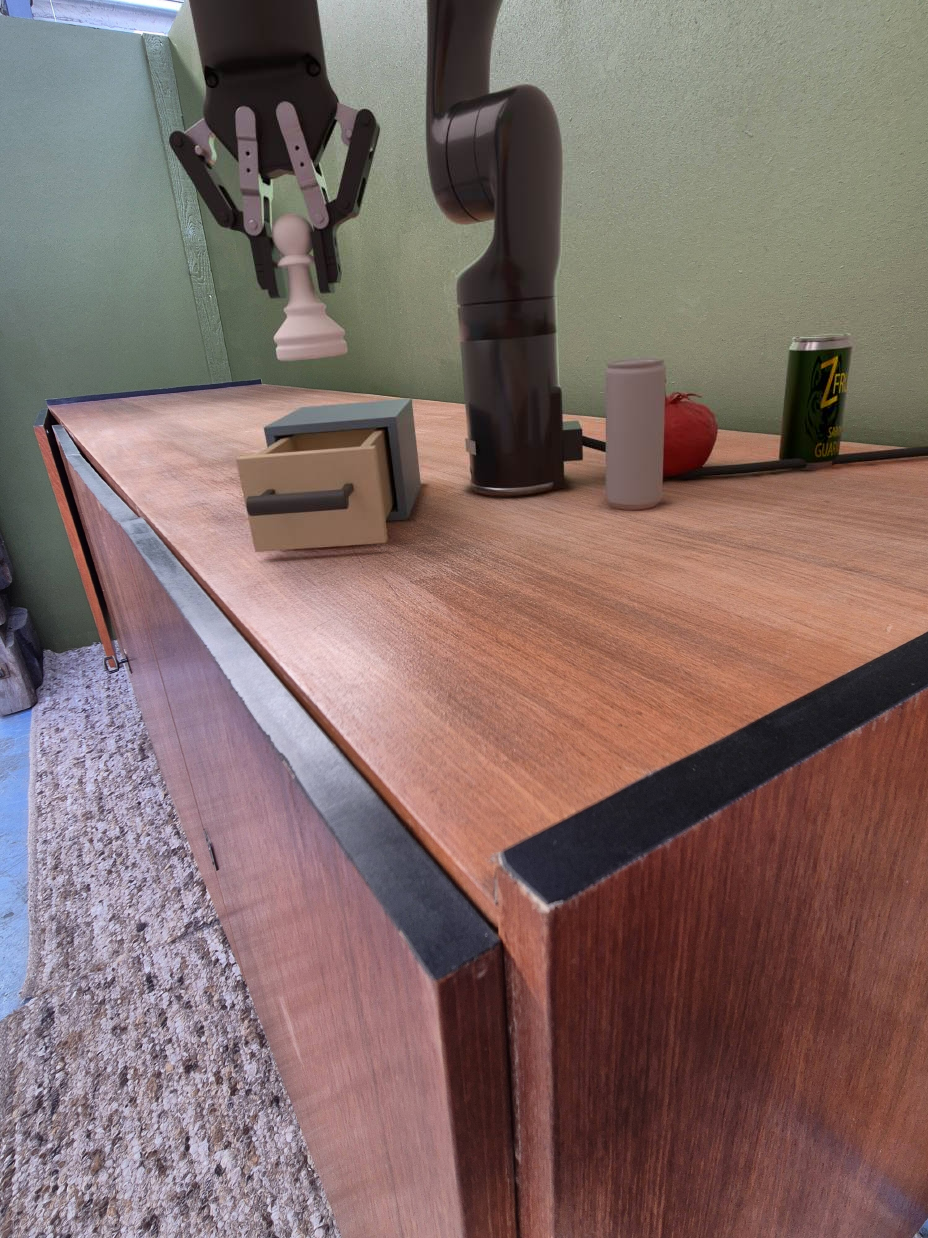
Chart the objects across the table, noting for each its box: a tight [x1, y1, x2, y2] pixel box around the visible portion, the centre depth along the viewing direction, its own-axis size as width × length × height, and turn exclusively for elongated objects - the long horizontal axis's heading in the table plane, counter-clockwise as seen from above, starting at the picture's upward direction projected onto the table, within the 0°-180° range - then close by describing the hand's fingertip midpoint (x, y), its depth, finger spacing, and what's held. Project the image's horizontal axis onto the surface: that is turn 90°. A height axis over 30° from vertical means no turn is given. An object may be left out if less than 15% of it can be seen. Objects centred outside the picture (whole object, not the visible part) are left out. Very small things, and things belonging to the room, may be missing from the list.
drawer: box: [235, 427, 396, 553], centre depth 58 cm, size 17×10×7 cm, turn 178°
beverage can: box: [604, 357, 667, 511], centre depth 61 cm, size 5×5×12 cm
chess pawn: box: [272, 212, 349, 362], centre depth 49 cm, size 5×5×9 cm
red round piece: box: [663, 378, 719, 478], centre depth 71 cm, size 10×10×9 cm
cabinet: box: [263, 397, 422, 522], centre depth 69 cm, size 14×12×9 cm
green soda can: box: [778, 332, 853, 471], centre depth 69 cm, size 5×5×12 cm
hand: (302, 294), depth 49 cm, fingers closed on chess pawn, 3 cm apart
